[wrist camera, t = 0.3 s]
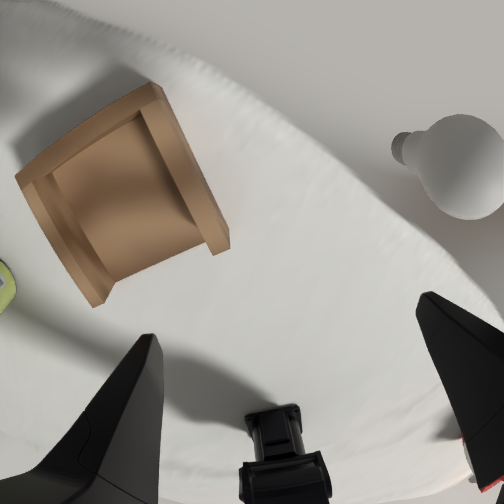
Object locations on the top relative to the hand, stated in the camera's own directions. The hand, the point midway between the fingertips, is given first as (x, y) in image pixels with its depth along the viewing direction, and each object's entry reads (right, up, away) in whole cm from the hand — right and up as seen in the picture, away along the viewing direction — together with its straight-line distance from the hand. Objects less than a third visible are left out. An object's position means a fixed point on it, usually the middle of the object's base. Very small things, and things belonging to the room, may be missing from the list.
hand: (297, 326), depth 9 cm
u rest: (-11, +7, +12) cm, 17 cm away
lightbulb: (+10, +11, +12) cm, 19 cm away
